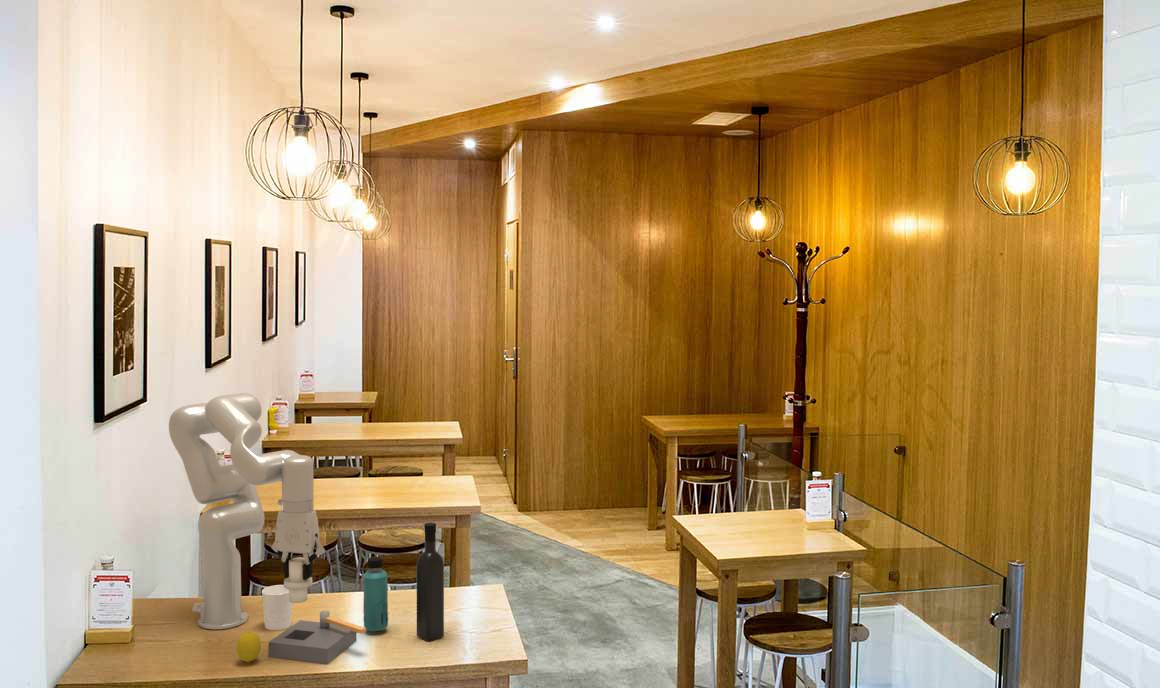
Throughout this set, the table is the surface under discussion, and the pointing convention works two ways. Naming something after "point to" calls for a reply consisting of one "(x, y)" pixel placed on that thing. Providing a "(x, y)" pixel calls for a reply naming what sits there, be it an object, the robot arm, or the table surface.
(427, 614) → the wine bottle
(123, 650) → the table surface
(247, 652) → the lemon
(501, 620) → the table surface
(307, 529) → the robot arm
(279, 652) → the dock
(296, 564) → the plug
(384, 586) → the beverage bottle
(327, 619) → the hammer
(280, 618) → the white cup
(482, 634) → the table surface
